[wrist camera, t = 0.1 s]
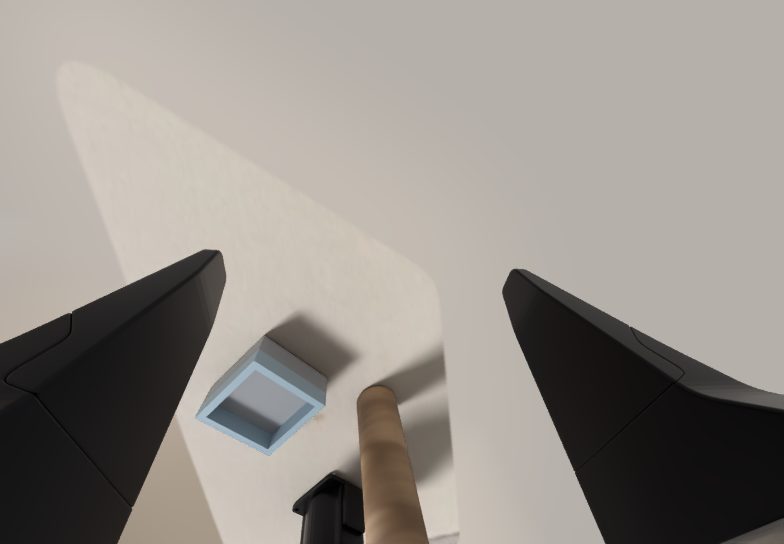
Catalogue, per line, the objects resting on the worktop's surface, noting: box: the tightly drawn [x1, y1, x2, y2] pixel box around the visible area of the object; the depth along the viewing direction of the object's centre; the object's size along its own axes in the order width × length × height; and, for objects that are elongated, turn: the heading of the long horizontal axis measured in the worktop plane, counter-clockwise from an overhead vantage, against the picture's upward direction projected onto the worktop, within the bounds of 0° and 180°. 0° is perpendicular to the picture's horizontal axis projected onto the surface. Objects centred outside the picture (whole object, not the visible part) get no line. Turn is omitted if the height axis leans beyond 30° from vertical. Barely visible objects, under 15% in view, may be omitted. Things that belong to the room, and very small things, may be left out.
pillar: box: [357, 386, 429, 544], centre depth 25 cm, size 4×4×13 cm
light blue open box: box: [195, 335, 327, 456], centre depth 27 cm, size 7×7×4 cm
